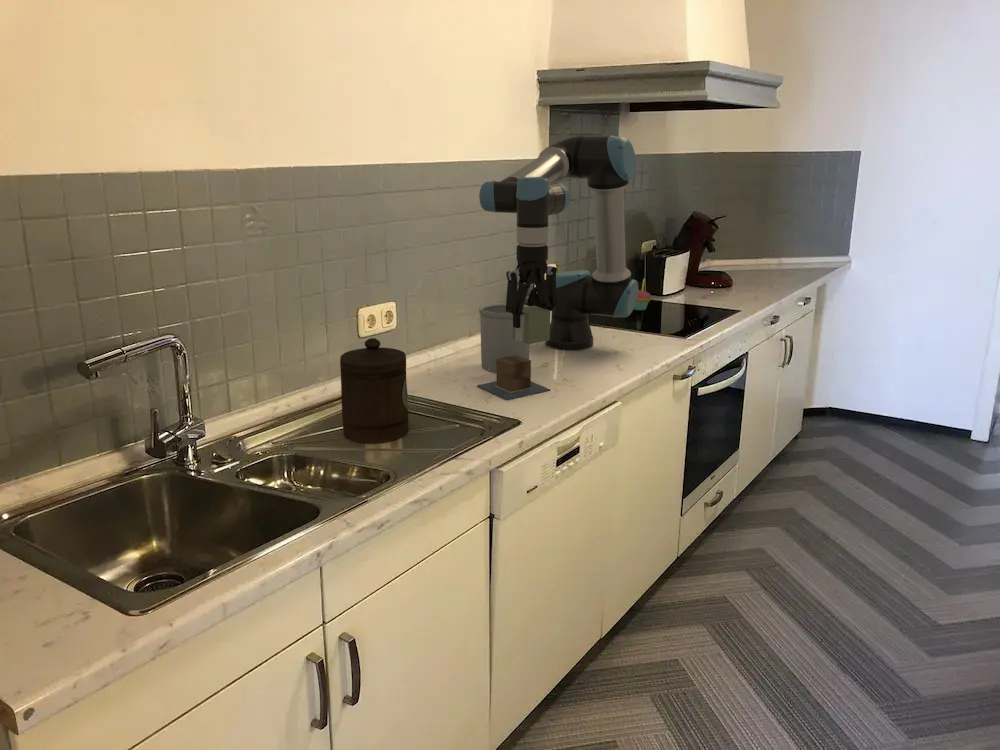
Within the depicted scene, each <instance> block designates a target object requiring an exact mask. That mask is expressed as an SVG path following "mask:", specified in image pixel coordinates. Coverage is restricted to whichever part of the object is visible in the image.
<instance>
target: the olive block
mask: <svg viewBox="0 0 1000 750" xmlns="http://www.w3.org/2000/svg"><path fill="white" fill-rule="evenodd" d="M527 306H528V307H523V310H522V313H521V314H522V315H524V341H523V343H526V344H530V345H531V344H537V343H542V342H546V341H549V340H550V323H551V311H550V310H547V309H544V308H542V307H540V306H537V305H530V306H529V305H527ZM513 339H515V327H513Z"/></svg>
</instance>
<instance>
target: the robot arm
mask: <svg viewBox="0 0 1000 750" xmlns="http://www.w3.org/2000/svg"><path fill="white" fill-rule="evenodd" d="M636 163H637V162H636V154H635V150H634V146H633V144H632V142H631V141H630V140H629V139H628V138H627V137H625V136H615V135H593V136H592V135H585V136H583V135H575V136H571V137H568V138H565V139H562V140H559V141H557V142H554V143H553V144H551V145H549V146H547V147H545V148H543V149H542V150H541V151H540V153H539V155H538V157H536V158H535V159H534V160H532V161H531V162H530V161H529V163H527V164H526V165H524V166H523V167H521V168H520V169H518V170H517V171H514V172H513V173H512V174H510V175H509V176H507V177H506V178H504V179H501V180H500V181H495V180H492V181H485V182H484V183H483V184H482V185H481V187H480V189H479V195H478V198H479V199H478V200H479V204H480V207H481V209H483V210H484V211H485V212H489V213H490V212H492V213H494V214H495V213H496V214H497V213H502V214H503V213H505V214H506V213H507V214H516V243H517V245H516V255H515V256H516V260H517V261H516V262H517V265H516V267H515V269H514V270H512V271H509V270H508V271H506V273H505V274H506V279H507V288H506V297H505V298H506V301H505V303H506V312H509V313H512V314H513V327H515V340H518V341H521V342H523V341H524V315H522V314H521V313H522V310H523V306H524V305H525V303H526V300H527V295H528V291H529V289H530V288H531V286H532V285H533V284H534V285H535V289H536V292H537V296H538V299H539V302H540V306H541V308H544V309H547V310H550V312H551V317H550V340H549V341H545V345H546V346H547V347H549V348H553V349H556V350H565V351H567V350H568V351H574V350H577V351H578V350H585V349H590V348H591V347H593V345H594V335H593V333H592V328H591V325H590V322H589V315H595V316H602V317H603V316H604V317H612V318H615V319H616V318H628V317H629V316H630V315H631V314H632V313H633V311H634V306H635V303H636V300H637V295H638V290H639V283H638V280H636V279H633V278H632V272H631V271H630V270H629V269H628V268H627V265H626V262H627V261H626V237H625V236H626V235H625V233H626V232H625V231H626V230H625V229H626V228H625V205H624V204H625V202H624V200H625V198H624V195H625V194H624V191H625V189H626V188H627V187H628V186H629V180H632V179H633V178H634V175H635V172H636V169H635V167H636ZM569 178H573V179H574V178H575V179H586V180H587V188H588V189H589V190H591V191H592V193H593V195H592V196H593V213H594V214H593V215H594V233H595V234H594V236H595V237H594V238H595V255H596V256H595V257H596V259H595V260H596V269H595V270H594V271H593V272H592V275H591V272H590V271H589V270H585V269H580V270H577V269H576V270H569V271H563V272H559V273H557V272H558V268H557V267H556V266H551V265H548V263H547V261H548V259H549V246H548V243H549V216H552V215H554V216H555V215H558V214H560V213H562V212H564V211H565V210H566V209H567V208H568V207H569V205H570V203H571V193H570V190H569V188H568V187H567V185H565V184H563V183H561V182H558V181H561V180H562V179H569Z"/></svg>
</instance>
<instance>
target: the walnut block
mask: <svg viewBox="0 0 1000 750" xmlns="http://www.w3.org/2000/svg"><path fill="white" fill-rule="evenodd" d="M496 367H497V373H496V381H497V386H498V387H500V388H503V389H505V390H507V391H509V392H513V391H518V390H523V389H527V388H531V381H532V378H531V377H532V360H531V359H529V360H528V359H526V358H523V357H521V356H518V355H514V356H508V357H503V358H498V359H496Z"/></svg>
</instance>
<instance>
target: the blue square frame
mask: <svg viewBox="0 0 1000 750" xmlns="http://www.w3.org/2000/svg"><path fill="white" fill-rule="evenodd" d="M476 387H477V388H479V389H481V390H483V391H485V390H486V391H485V392H487V391H488V393H489V392H490V394H491V393H492V395H494V396H496V397H498V398H501V400H505V401H506V400H507V401H510V400H516V399H519V397H520V398H523V397H524V396H525V397H527V396H528V395H529V396H532V395H537V394H541V393H546V392H547V393H548V392H550V391H551V388H547V387H546V386H544V385H541V384H539V383H536V382H534V381H532V380H531V388H527V389H523V390H518V391H513V392H509V391H507V390H505V389H503V388H500V387H498V386H497V380H495V381H490V382H486V383H481V384H477V385H476ZM515 398H516V399H515Z"/></svg>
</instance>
